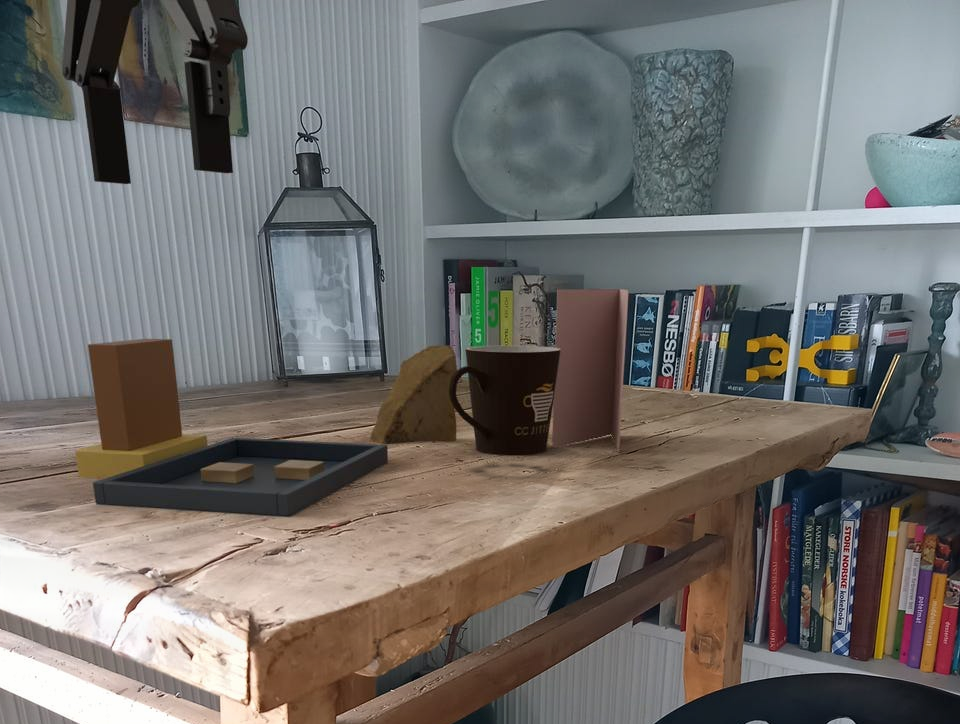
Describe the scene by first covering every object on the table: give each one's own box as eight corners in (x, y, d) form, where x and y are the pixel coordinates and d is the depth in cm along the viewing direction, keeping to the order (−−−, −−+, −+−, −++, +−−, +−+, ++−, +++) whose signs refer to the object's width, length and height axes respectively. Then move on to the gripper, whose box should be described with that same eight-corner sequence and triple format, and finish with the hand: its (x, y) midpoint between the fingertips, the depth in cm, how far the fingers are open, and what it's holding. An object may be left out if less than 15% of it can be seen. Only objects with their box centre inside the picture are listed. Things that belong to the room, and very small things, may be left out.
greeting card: (604, 434, 103) (612, 289, 97) (664, 441, 98) (676, 289, 93) (544, 447, 94) (549, 289, 89) (607, 456, 90) (617, 290, 85)
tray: (97, 517, 65) (92, 482, 65) (234, 465, 84) (232, 437, 83) (290, 531, 62) (287, 494, 61) (388, 473, 81) (387, 444, 80)
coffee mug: (534, 449, 93) (536, 344, 89) (572, 464, 86) (577, 351, 82) (423, 456, 89) (421, 347, 86) (453, 472, 82) (452, 353, 78)
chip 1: (201, 481, 72) (200, 468, 72) (220, 474, 75) (218, 462, 75) (236, 483, 72) (235, 470, 71) (254, 476, 75) (253, 463, 74)
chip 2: (274, 479, 74) (273, 466, 73) (290, 471, 76) (289, 459, 76) (310, 480, 73) (309, 468, 73) (324, 473, 76) (324, 461, 75)
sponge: (147, 492, 73) (129, 346, 69) (80, 488, 75) (58, 344, 71) (210, 469, 82) (197, 338, 78) (149, 466, 84) (133, 337, 80)
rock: (375, 433, 87) (476, 415, 89) (352, 354, 89) (452, 337, 91) (369, 484, 97) (460, 466, 99) (348, 411, 99) (438, 396, 101)
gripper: (286, -213, 57) (307, 171, 65) (82, -113, 72) (118, 189, 80) (180, -264, 52) (216, 160, 60) (-17, -144, 67) (32, 182, 75)
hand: (160, 178), depth 70 cm, fingers open, 13 cm apart
